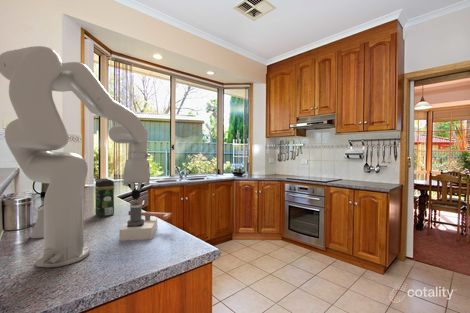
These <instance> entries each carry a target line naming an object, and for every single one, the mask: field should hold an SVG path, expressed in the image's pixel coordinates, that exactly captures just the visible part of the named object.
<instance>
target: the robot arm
mask: <svg viewBox="0 0 470 313" xmlns="http://www.w3.org/2000/svg"><path fill="white" fill-rule="evenodd" d="M0 74H1V75H2V76H3V77H4V78H5V79H6V80H8V81H9V84H8V96H9V100H10V103H11V105H12V107H13V110H14V112H15V114H16V117H17V118H16V119H14V120H12V121H10V122H9V123H8V124H7V125H6V126H5V130H4V140H5V143H6V144H7V147H8V148H9V150H10V152H11V154H12V156H13V157H14V159H15V161H16V163H17V164H18V166H19V168H20V169H21V170H22V171H21V172H22V173H23V174H24V175H25V176H26V177H27V178H28V179H29V180H30V181H33V182H35V183H38V184H39V183H40V184H48V187H47V189H46V192H45V193H44V194H45V195H44V198H43V205H44V238H43V253H42V254H41V255H39V256H38V257H37V259H36V261H35V263H34V264H35V266H36V267H38V268H39V267H41V268H58V267H62V266H67V265H71V264H74V263H76V262H79V261H82V260H84V259H85V258H86V257H88V256H89V254H90V248H89V247H88V246H86V245H85V244H84V243H85V242H84V241H85V238H84V237H85V236H84V234H85V233H84V230H85V228H84V227H85V224H84V222H85V221H84V216H85V215H84V214H85V212H84V210H85V209H84V208H85V203H84V202H85V200H84V198H85V197H84V196H85V185H86V180H87V176H88V170H89V169H88V163H87V161H86V159H85V158H84V157H83V156H82V155H81V154H77V153H74V152H68V151H66V152H65V151H64V152H63V151H57V150H61V149H63V148H64V147H66V146H67V144H68V142H69V134H68V131H67V129H66V127H65V125H64V124H65V123H64V121H63V119H62V117H61V115H60V112H59V110H58V108H57V106H56V104H55V101H54V98H53V92H62V93H63V92H72V93H73V94H74V95H75V96H76V97H77V98H78V100H80V101H81V103H82V104H83V105H84V107H86V108H87V109H88V111H89V112H90V113H92V114H93V115H95V116H98V117H100V118H103V119H107V120H110V121H112V122H115V123H117V125H113V126H111V127H110V128H109V130H108V136H109V137H108V138H110V141H112V142H114V143H116V144H127V147H128V148H127V149H128V150H127V159H126V160H125V164H124V168H123V176H122V178H123V179H122V180H123V183H122V186H125V187H127V188H129V189H130V190H131V198H132V199H133V200H134V201H138V200H139V198H141V190H142V189H143V188H145V187H147V186H150V185H151V183H150V180H151V171H150V170H151V169H150V168H151V167H150V160H148V158H151V154H150V153H148V138H149V137H148V134H149V133H148V130H147V129H146V128H145V126H144V124H143V122H142V121H141V119H140V118H139V117H138V115H137V114H135V113H134V112H133V111H132V110H130V109H129V108H128V107H125V106H124V105H123V104H121V103H119V102H118V101H116V100H114V99H113V97H111V95H110V94H109V92H108V91H107V90H106V89H105V87H104V85H102V83H101V82H100V80H99V78H97V77H96V75H95V74H94V72H93V71H92V69H90V67H89V66H87V65H86V64H85V63H82V62H79V61H70V62H62V59H61V56H60V55H59V53H57V52H56V50H54V49H52V48H50V47H48V46H44V45H43V46H41V45H36V46H29V47H28V46H27V47H21V48H19V49H11V50H7V51H4V52H2V53H0ZM136 184H137V188H136Z"/></svg>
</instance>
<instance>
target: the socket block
mask: <svg viewBox="0 0 470 313" xmlns="http://www.w3.org/2000/svg"><path fill="white" fill-rule="evenodd" d="M141 219H144V224H142V225H141V226H138V227H130V226H129V225H127V221H129V220H130V218H129V219H128V220H127V221H126V222H125V223H124V225H123V226H122V227H120V229H119V237H118V238H119V242H121V241H122V242H123V241H141V240H142V241H143V240H152V239H153V237H154V234H155V232H156V230H157V228H158V217H151V216H144V218H143V217H141Z"/></svg>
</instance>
